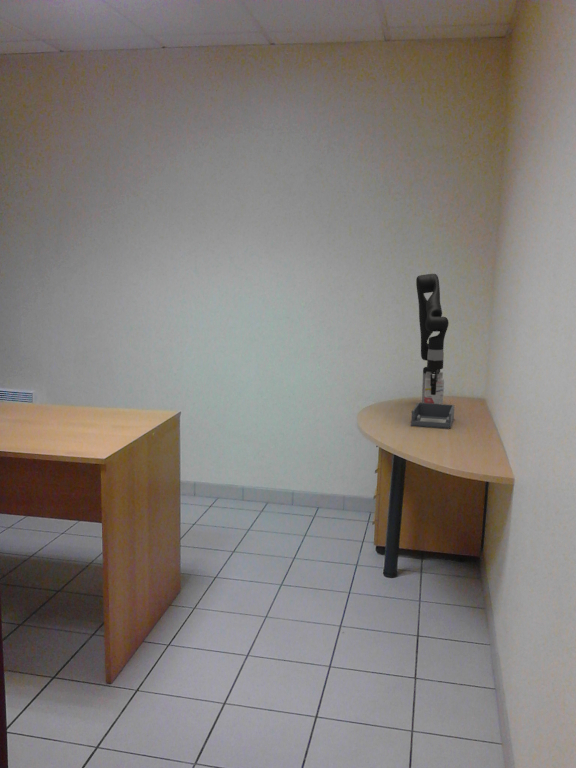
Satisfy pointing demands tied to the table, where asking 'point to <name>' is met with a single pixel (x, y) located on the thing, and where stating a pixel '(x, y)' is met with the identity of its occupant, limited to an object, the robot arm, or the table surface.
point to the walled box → (432, 415)
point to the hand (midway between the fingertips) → (433, 393)
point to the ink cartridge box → (439, 389)
